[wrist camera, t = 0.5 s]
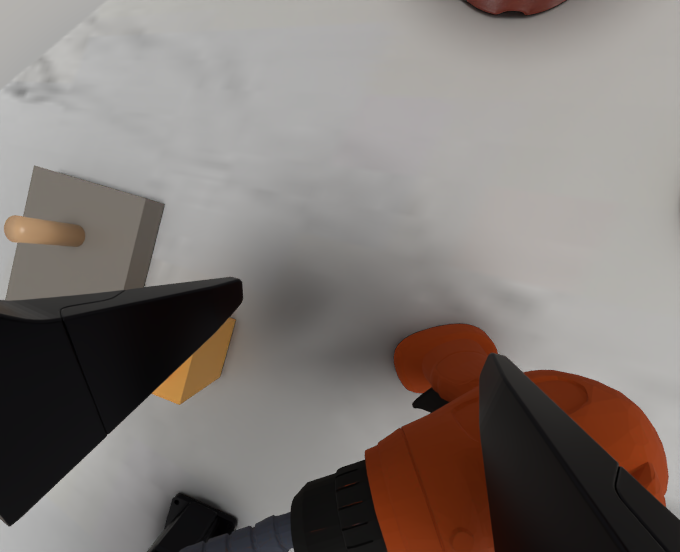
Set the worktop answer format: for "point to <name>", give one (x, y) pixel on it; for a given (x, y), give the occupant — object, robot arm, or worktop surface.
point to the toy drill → (441, 461)
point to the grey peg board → (79, 238)
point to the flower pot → (515, 5)
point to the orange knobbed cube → (198, 367)
